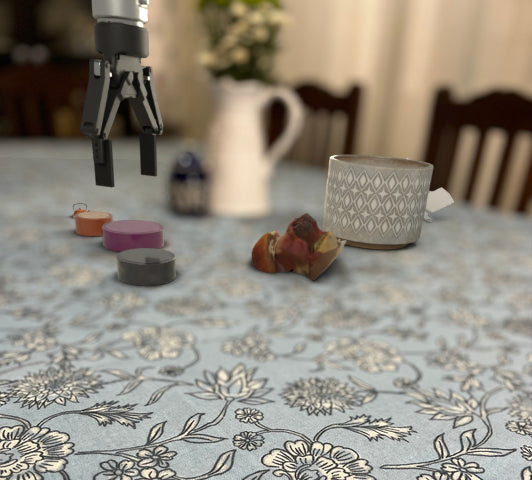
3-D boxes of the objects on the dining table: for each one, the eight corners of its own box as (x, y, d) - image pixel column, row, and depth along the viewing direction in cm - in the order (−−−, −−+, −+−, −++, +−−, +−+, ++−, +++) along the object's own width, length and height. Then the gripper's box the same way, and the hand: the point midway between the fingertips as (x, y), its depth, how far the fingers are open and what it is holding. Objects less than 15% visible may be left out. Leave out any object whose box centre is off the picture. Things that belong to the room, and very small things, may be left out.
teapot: (77, 214, 104) (76, 201, 103) (91, 216, 104) (90, 202, 103) (70, 217, 102) (68, 203, 101) (84, 219, 101) (82, 205, 100)
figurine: (402, 253, 121) (436, 225, 127) (427, 223, 110) (463, 194, 116) (357, 209, 123) (393, 184, 129) (378, 176, 113) (415, 150, 118)
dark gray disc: (106, 280, 70) (104, 258, 69) (135, 265, 77) (134, 244, 76) (159, 289, 69) (159, 267, 67) (185, 272, 76) (184, 252, 74)
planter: (395, 228, 110) (407, 157, 104) (435, 253, 94) (452, 169, 88) (311, 227, 107) (318, 152, 100) (337, 252, 91) (348, 165, 84)
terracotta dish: (68, 233, 91) (66, 216, 90) (89, 226, 97) (88, 209, 95) (100, 238, 90) (99, 220, 88) (120, 230, 95) (119, 213, 94)
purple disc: (91, 247, 84) (89, 228, 83) (123, 234, 93) (121, 217, 91) (146, 255, 82) (145, 236, 80) (174, 241, 90) (173, 224, 89)
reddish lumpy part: (344, 254, 73) (294, 203, 71) (283, 312, 78) (235, 266, 76) (348, 230, 87) (306, 186, 85) (296, 280, 92) (255, 240, 90)
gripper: (94, 11, 62) (106, 194, 71) (182, 35, 83) (183, 174, 93) (40, 8, 63) (59, 188, 73) (140, 33, 85) (145, 169, 94)
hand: (128, 180), depth 83 cm, fingers open, 13 cm apart
